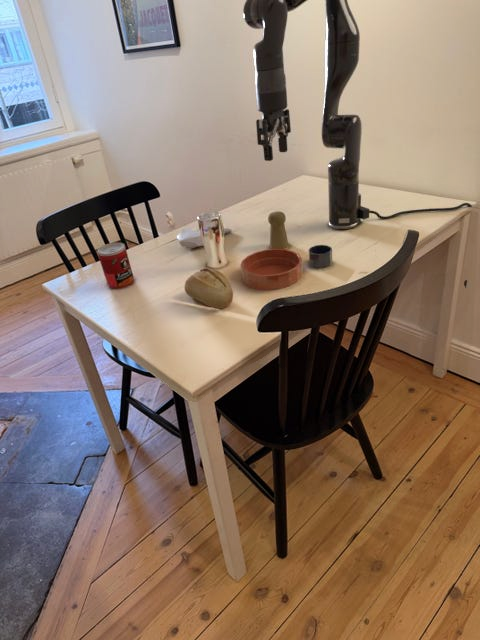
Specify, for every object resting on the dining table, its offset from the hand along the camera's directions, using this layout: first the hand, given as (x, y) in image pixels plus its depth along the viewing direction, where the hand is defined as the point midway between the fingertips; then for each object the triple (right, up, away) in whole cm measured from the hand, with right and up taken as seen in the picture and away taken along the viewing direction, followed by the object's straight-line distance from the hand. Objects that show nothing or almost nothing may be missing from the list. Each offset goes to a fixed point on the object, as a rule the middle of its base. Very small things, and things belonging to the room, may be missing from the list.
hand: (276, 156), depth 124 cm
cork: (+2, -22, +19) cm, 29 cm away
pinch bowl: (+13, -28, +5) cm, 32 cm away
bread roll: (-17, -39, -4) cm, 43 cm away
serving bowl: (-1, -32, +3) cm, 32 cm away
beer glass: (-16, -27, +14) cm, 35 cm away
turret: (-21, -18, +30) cm, 41 cm away
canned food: (-44, -33, +11) cm, 56 cm away
